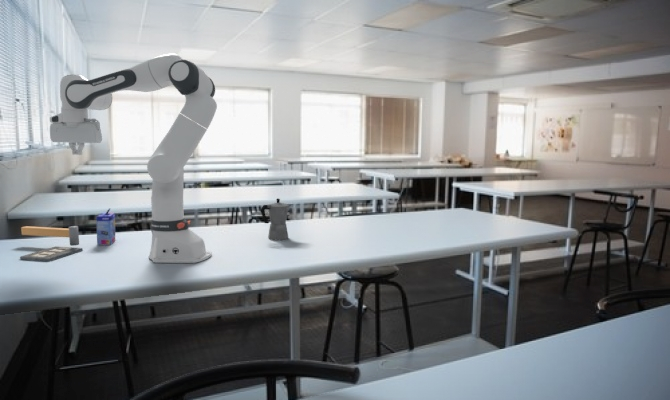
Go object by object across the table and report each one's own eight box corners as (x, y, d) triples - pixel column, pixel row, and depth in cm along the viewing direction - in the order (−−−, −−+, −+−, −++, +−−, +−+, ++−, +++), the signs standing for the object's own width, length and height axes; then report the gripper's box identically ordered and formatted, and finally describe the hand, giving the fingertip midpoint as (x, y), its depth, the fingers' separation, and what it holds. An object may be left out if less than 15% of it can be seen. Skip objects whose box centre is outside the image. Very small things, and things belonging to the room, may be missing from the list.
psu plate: (82, 250, 173) (82, 247, 173) (49, 261, 157) (48, 257, 157) (55, 248, 175) (55, 245, 175) (20, 259, 159) (19, 255, 159)
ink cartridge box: (111, 245, 183) (109, 210, 181) (96, 245, 181) (94, 210, 179) (116, 240, 192) (114, 206, 190) (102, 240, 191) (100, 207, 189)
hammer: (75, 245, 175) (73, 227, 174) (21, 242, 179) (20, 224, 178) (81, 243, 178) (79, 226, 177) (28, 240, 182) (27, 223, 181)
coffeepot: (284, 234, 208) (284, 196, 205) (296, 238, 200) (296, 198, 198) (255, 238, 198) (255, 198, 195) (266, 242, 191) (266, 201, 188)
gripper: (104, 119, 172) (106, 154, 174) (58, 118, 176) (61, 153, 177) (93, 118, 166) (95, 155, 167) (45, 117, 169) (48, 154, 171)
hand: (77, 154), depth 172 cm, fingers closed
